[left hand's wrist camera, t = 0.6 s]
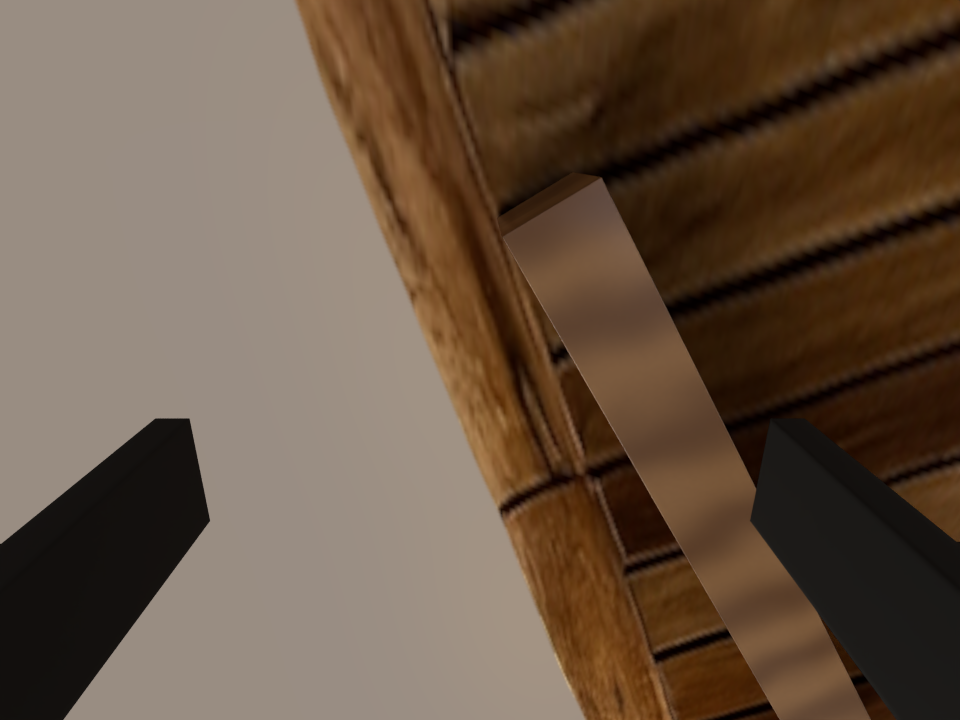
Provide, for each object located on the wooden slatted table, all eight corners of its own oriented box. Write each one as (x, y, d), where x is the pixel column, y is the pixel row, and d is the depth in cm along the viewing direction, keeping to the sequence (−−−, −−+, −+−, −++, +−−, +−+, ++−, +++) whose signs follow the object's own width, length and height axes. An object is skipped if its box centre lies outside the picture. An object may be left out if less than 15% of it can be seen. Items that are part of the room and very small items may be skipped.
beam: (496, 218, 30) (501, 237, 23) (573, 171, 30) (601, 176, 23) (795, 739, 44) (853, 847, 38) (852, 718, 44) (922, 824, 37)
